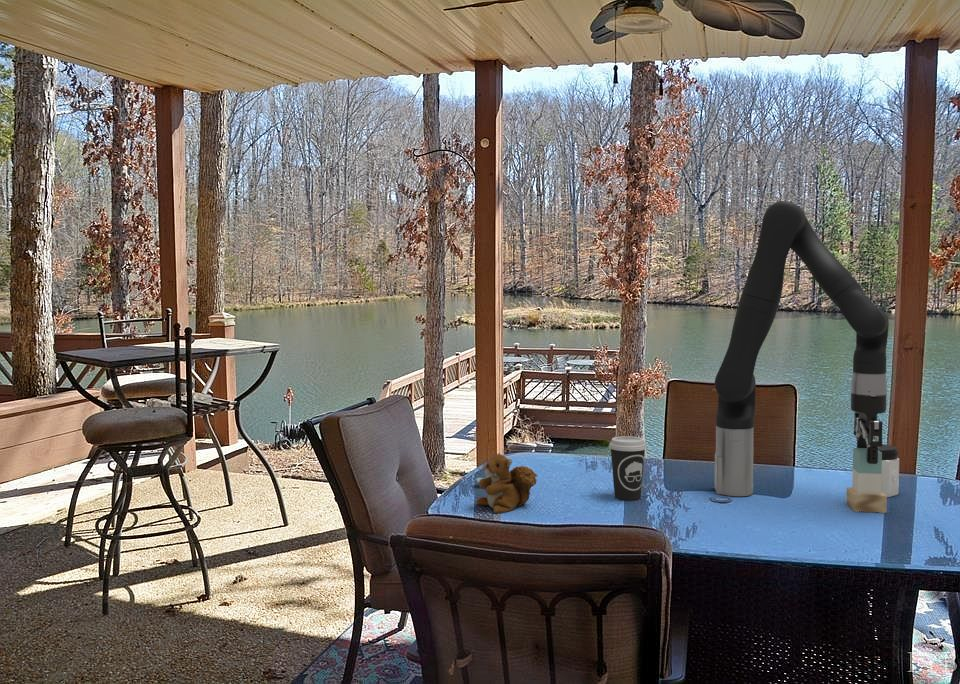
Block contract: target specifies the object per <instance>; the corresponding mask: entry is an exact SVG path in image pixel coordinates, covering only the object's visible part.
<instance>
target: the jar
mask: <svg viewBox="0 0 960 684" xmlns="http://www.w3.org/2000/svg"><path fill="white" fill-rule="evenodd" d="M878 450H879V451H880V452H882V478H881V492H883V493H884V494H885V495H886V496H887V498H890V497H895V496H898V495H899V491H900V490H899V483H900V482H899V479H900V458H899V457H898V455H899V452H898V447H897V446H894V445H890V444H884V443H882V447H879V448H878Z"/></svg>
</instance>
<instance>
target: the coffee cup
mask: <svg viewBox="0 0 960 684" xmlns="http://www.w3.org/2000/svg"><path fill="white" fill-rule="evenodd" d="M644 440H645V439H644V438H642V437H638V436H633V435H632V436H631V435H623V436H614V437H612V438H611V441H610V442H609V443H608V449H610V454H611V455H610V457H611V469H612V479H613V480H612V481H613V492H614V493H613V494H614V498H615V499H617V500H619V501H624V502H625V501H627V502H631V501H634V502H635V501H637V500H638V501H639V500H640V499H641V497H642V485H643V475H644V464H645V454H646V450H647V448H648V446H647V444H646V443H645V441H644Z"/></svg>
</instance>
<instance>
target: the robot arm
mask: <svg viewBox="0 0 960 684" xmlns="http://www.w3.org/2000/svg"><path fill="white" fill-rule="evenodd" d="M790 249H791V250H792V251H793V252H794V253H795V255H796V256H797V257H798V258H799V259H800V260H801V261H802V262H803V264H804V265H805V267H806V268H807V270H808V271H809V273H810V274H811V276H812V277H813V279H814V280H815V282H816V283H817V284H818V285H819V287H820V289H821V290H822V291H823V292H824V293H825V294H826V296H827V297H828V298H829V299H830V300H831V302H832V303H833V304H834V305H835V306H836V307H837V308H838V309H839V311H840V312H841V314H842V315H843V317H844V318H845V320H846V321H847V323H848V324H849V326H850V327H851V328H852V329H853V330H854V331H855V334H856V335H855V336H856V337H855V350H854V351H853V358H852V375H851V382H850V383H851V385H850V388H851V389H850V410H851V411H852V412H854V413H853V414H854V418H853V419H854V421H853V435H854V436H855V440H856V448H867V463H869V464H877V463H878V448H879V447H882V444H883V423H884V422H883V421H882V420H878V415H879V414H880V415H881V414H884V413H886V412H887V397H888V396H887V392H888V385H887V383H888V382H887V381H888V380H887V346H888V336H889V326H890V325H889V323H890V322H889V316H888V314H887V313H886V312H885V311H884V310H883V309H881V308H880V307H879V308H878V307H877V306H876V305H875V304H874V302H872V301H871V300H870V298H869V297H868V296H867V295H866V293H865V292H864V289H863V287H862V286H861V284H860V283H859V282H858V281H857V280H856V279H855V277H853V275H852V274H851V273H850V272H849V271H848V269H847V268H846V267H845V266H844V265H843V264H842V262H840V261H839V260H838V259H837V258H836V256H834V254H833V253H832V252H831V251H830V250H829V249H828V248H827V247H826V245H825V244H824V243H823V242H822V240H821V239H820V238H819V237H818V235H817V234H816V232H815V230H814V229H813V227H812V225H811V224H810V222H809V219H808V218H807V216H806V213H805V211H804V210H803V208H801V207H800V206H799V205H797V204H796V203H794V202H792V201H790V200H779V201H776V202H774V203H772V204H771V205H770V206H768V207H767V209H766V211H765V212H764V214H763V217H762V221H761V227H760V233H759V238H758V242H757V248H756V253H755V256H754V259H753V261H752V263H751V266H750V268H749V271H748V275H747V276H746V279H745V283H744V286H743V289H742V292H741V294H740V298H739V302H738V304H737V308H736V312H735V317H734V321H733V326H732V329H731V334H730V335H731V336H730V340H729V343H728V347H727V350H726V353H725V355H724V357H723V359H722V362H721V365H720V367H719V369H718V371H717V373H716V374H715V375H716V376H715V379H714V387H715V388H714V389H715V391H716V394H717V395H718V398H717V400H718V401H717V412H716V415H715V452H714V491H715V494H716V495H723V496H728V497H747V496H751V495H753V494H754V439H755V438H754V433H755V432H754V429H755V426H754V424H755V423H754V422H755V416H756V415H755V414H756V384H757V383H756V377H755V374H754V371H755V369H756V363H757V358H758V356H759V353H760V350H761V348H762V346H763V344H764V342H765V340H766V338H767V336H768V334H769V332H770V330H771V327H772V325H773V323H774V320H775V317H776V315H777V312H778V308H779V305H780V302H781V298H782V294H783V287H784V278H785V268H786V262H787V258H788V256H789V255H788V254H789V252H790V251H791V250H790Z"/></svg>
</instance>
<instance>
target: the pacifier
mask: <svg viewBox="0 0 960 684" xmlns="http://www.w3.org/2000/svg"><path fill="white" fill-rule="evenodd" d="M484 467H486V466H485V465H484ZM484 467H483V468H484ZM484 469H485V468H484ZM483 471H484V470H483ZM484 475H485V478H484V477H477V478H476V483H478V485H479V481H480V480H481V479H486V478H489V477H491V476H492V475H490V474H489V473H488V472H487V471H486V469H485V471H484Z"/></svg>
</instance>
